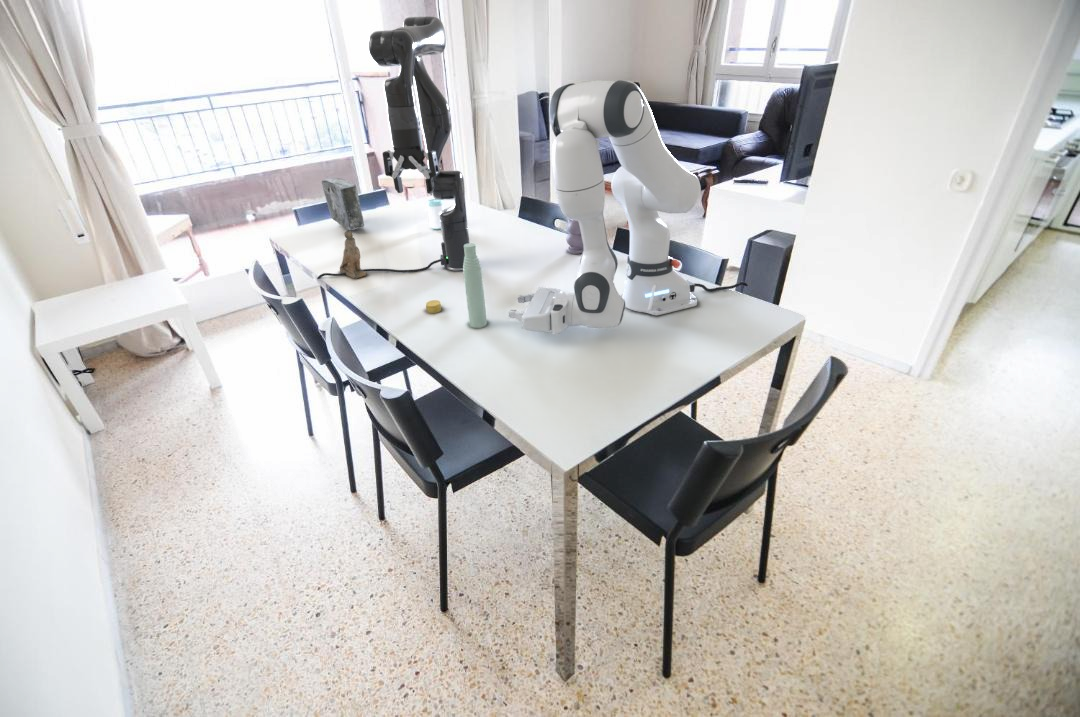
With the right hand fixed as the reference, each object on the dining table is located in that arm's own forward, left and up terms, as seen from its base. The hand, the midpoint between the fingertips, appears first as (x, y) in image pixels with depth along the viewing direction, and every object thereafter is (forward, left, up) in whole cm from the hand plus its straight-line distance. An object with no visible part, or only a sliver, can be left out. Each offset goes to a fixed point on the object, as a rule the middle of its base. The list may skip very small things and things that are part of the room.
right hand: (513, 305), depth 136 cm
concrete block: (+56, -117, -6) cm, 130 cm away
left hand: (+22, -18, +28) cm, 40 cm away
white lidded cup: (+17, -103, -6) cm, 105 cm away
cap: (+22, -18, -4) cm, 28 cm away
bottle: (+10, -4, -6) cm, 13 cm away
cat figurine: (-34, -54, -6) cm, 64 cm away
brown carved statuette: (+49, -57, -6) cm, 75 cm away
